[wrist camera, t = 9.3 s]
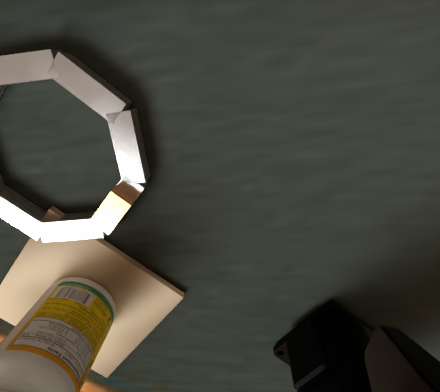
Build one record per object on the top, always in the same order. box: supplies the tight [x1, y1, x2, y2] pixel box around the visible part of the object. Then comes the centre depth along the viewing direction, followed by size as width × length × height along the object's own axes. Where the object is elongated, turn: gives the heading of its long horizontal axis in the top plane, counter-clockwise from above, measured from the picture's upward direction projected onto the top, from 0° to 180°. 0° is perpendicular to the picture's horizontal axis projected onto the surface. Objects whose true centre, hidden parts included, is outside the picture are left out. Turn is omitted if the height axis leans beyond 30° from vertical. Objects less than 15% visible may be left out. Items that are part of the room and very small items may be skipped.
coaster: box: [0, 206, 185, 378], centre depth 24 cm, size 11×11×1 cm
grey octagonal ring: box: [0, 49, 150, 242], centre depth 19 cm, size 11×11×2 cm
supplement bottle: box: [0, 277, 116, 392], centre depth 19 cm, size 5×5×10 cm
